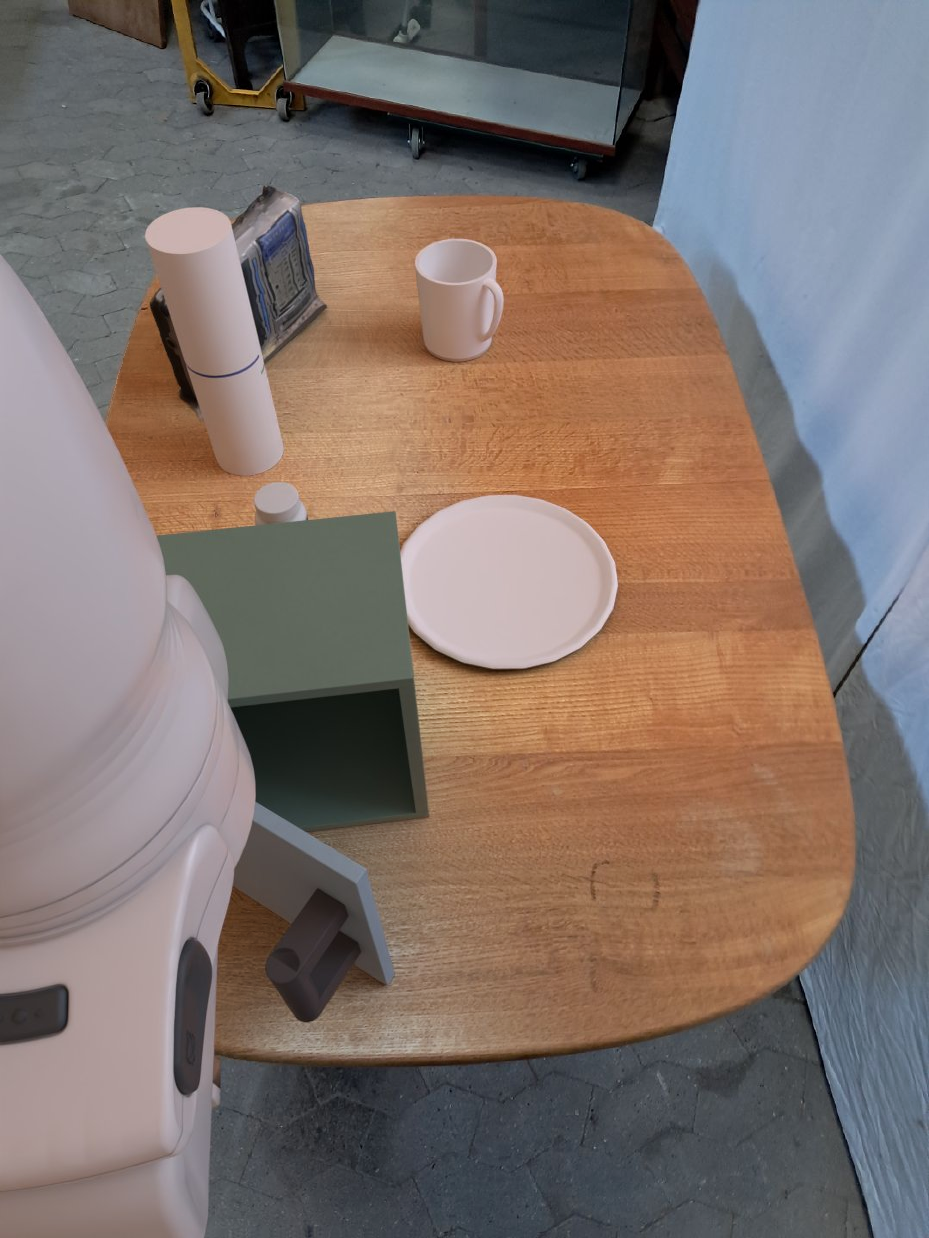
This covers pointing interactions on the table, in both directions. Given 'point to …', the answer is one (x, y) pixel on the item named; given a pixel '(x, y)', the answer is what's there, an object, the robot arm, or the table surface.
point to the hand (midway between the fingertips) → (204, 950)
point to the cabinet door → (311, 912)
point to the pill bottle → (278, 504)
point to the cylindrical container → (217, 336)
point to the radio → (260, 281)
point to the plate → (507, 582)
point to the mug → (458, 298)
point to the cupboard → (315, 663)
